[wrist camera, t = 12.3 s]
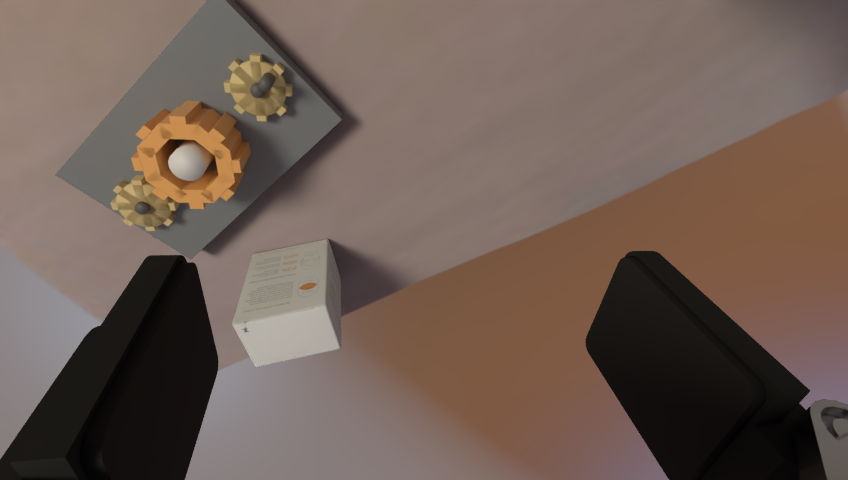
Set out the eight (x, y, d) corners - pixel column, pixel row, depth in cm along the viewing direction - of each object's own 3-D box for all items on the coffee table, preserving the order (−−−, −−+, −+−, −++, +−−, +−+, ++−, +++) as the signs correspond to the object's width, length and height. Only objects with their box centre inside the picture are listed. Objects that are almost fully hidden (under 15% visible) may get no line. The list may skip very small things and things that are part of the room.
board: (222, -11, 30) (199, -7, 25) (342, 112, 37) (342, 135, 32) (68, 165, 35) (24, 197, 30) (196, 247, 41) (177, 286, 36)
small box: (269, 293, 46) (253, 369, 37) (251, 252, 43) (228, 325, 34) (342, 278, 46) (342, 350, 38) (329, 237, 43) (326, 305, 35)
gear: (141, 98, 32) (117, 113, 28) (244, 103, 33) (233, 118, 30) (163, 185, 35) (145, 208, 32) (255, 187, 37) (246, 209, 34)
